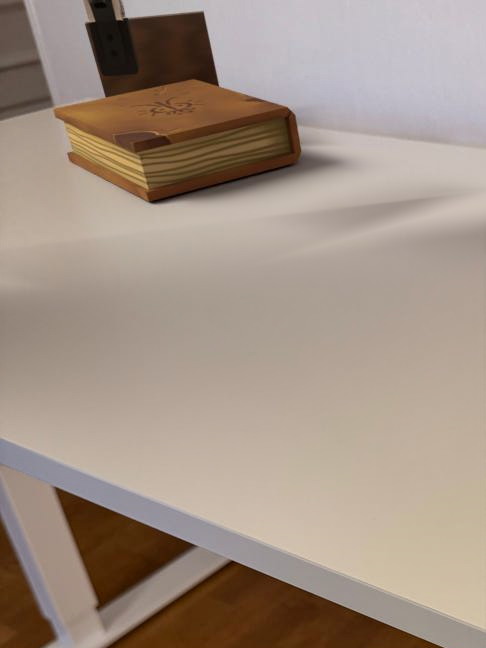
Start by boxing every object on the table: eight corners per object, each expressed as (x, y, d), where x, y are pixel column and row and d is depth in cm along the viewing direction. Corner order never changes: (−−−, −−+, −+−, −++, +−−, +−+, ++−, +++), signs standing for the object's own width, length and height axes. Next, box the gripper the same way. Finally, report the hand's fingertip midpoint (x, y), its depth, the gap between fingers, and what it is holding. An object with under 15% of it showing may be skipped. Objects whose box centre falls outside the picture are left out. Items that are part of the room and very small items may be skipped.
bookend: (115, 134, 120) (84, 23, 112) (118, 126, 123) (87, 18, 115) (226, 122, 121) (203, 12, 113) (226, 115, 124) (203, 7, 116)
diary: (303, 162, 106) (293, 105, 102) (149, 203, 98) (132, 143, 94) (210, 127, 120) (199, 75, 116) (69, 160, 112) (51, 106, 108)
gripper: (16, -201, 76) (86, 60, 88) (-18, -204, 65) (67, 95, 77) (111, -204, 77) (168, 54, 89) (93, -208, 66) (160, 88, 78)
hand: (121, 73), depth 83 cm, fingers closed
